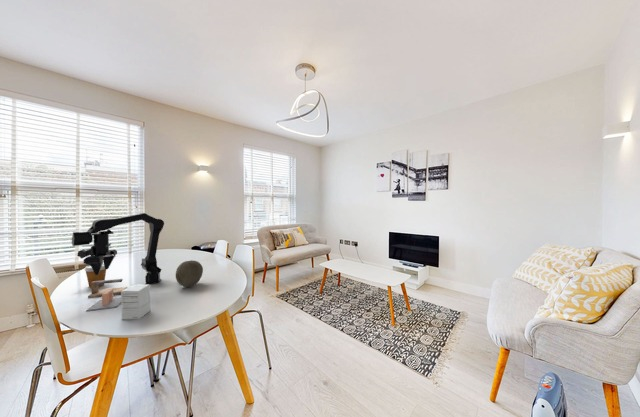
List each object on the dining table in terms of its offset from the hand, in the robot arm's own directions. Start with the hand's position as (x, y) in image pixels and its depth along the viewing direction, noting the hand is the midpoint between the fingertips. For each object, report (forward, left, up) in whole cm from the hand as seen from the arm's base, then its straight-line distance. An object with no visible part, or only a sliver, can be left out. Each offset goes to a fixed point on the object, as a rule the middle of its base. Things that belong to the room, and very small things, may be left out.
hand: (101, 271), depth 118 cm
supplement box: (-25, +31, -13) cm, 42 cm away
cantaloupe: (-41, +1, -13) cm, 43 cm away
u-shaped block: (-8, +14, -12) cm, 20 cm away
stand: (-2, -2, -12) cm, 13 cm away
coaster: (-8, +14, -12) cm, 20 cm away
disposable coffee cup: (+10, -17, -13) cm, 23 cm away
